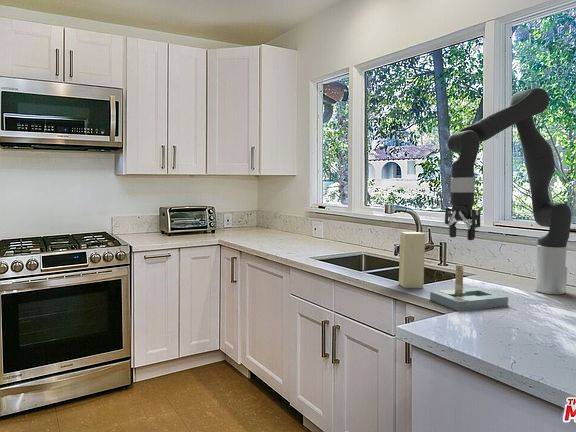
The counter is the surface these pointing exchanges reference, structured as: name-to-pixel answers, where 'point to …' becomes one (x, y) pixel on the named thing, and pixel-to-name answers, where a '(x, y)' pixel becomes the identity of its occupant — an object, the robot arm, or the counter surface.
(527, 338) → the counter surface
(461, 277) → the boss peg
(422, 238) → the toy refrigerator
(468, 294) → the keyhole board
